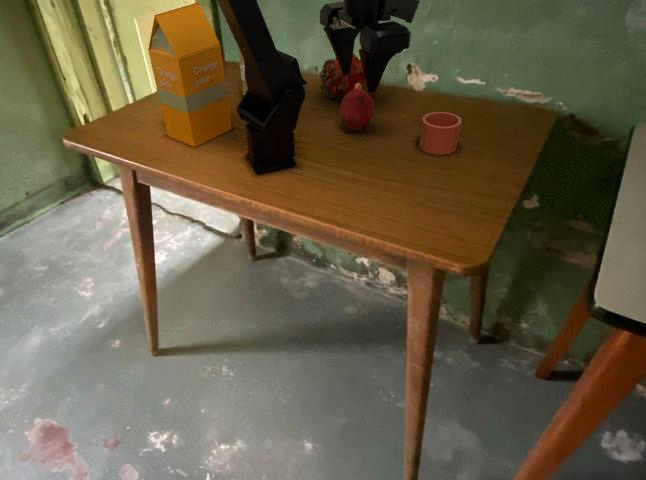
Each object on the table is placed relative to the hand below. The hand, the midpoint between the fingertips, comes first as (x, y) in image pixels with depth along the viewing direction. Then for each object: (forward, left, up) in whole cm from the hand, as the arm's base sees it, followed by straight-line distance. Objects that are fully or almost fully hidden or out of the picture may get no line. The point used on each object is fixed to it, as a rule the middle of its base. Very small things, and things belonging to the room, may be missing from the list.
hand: (358, 83), depth 79 cm
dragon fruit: (+5, +15, -8) cm, 18 cm away
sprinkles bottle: (-11, +24, -8) cm, 28 cm away
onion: (0, 0, -8) cm, 8 cm away
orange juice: (-25, +12, -8) cm, 29 cm away
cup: (+9, -11, -8) cm, 16 cm away
